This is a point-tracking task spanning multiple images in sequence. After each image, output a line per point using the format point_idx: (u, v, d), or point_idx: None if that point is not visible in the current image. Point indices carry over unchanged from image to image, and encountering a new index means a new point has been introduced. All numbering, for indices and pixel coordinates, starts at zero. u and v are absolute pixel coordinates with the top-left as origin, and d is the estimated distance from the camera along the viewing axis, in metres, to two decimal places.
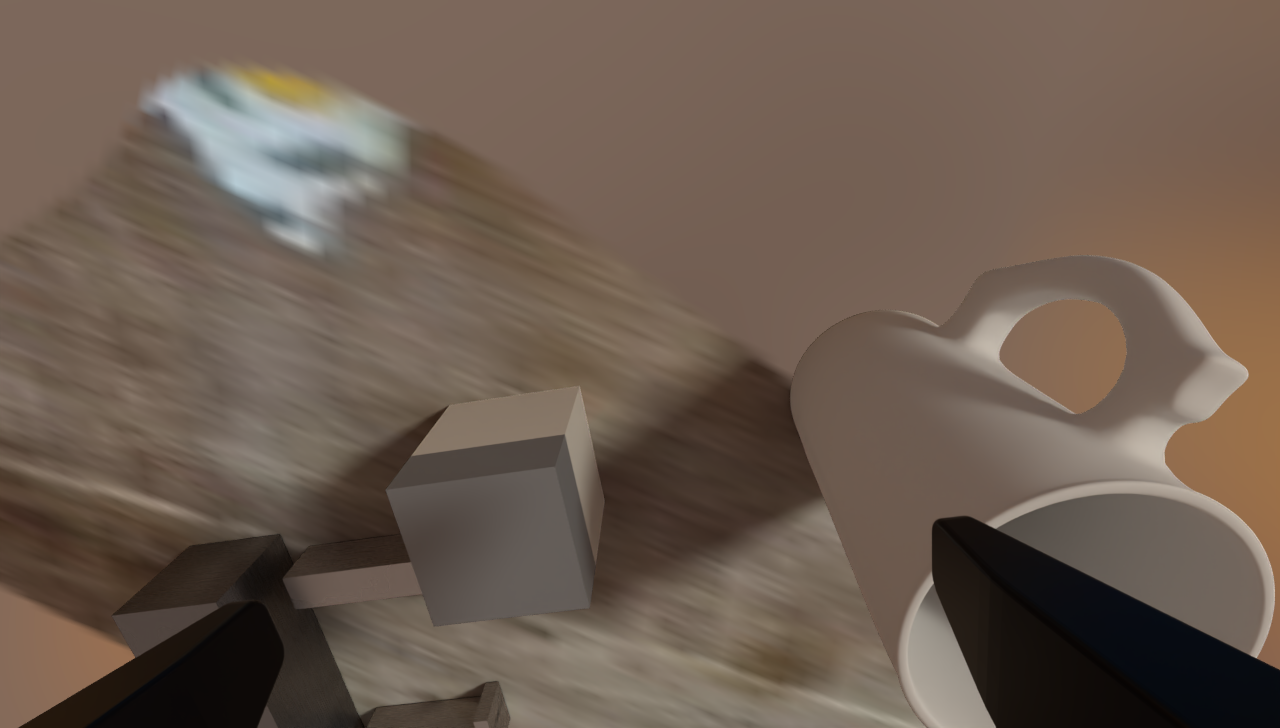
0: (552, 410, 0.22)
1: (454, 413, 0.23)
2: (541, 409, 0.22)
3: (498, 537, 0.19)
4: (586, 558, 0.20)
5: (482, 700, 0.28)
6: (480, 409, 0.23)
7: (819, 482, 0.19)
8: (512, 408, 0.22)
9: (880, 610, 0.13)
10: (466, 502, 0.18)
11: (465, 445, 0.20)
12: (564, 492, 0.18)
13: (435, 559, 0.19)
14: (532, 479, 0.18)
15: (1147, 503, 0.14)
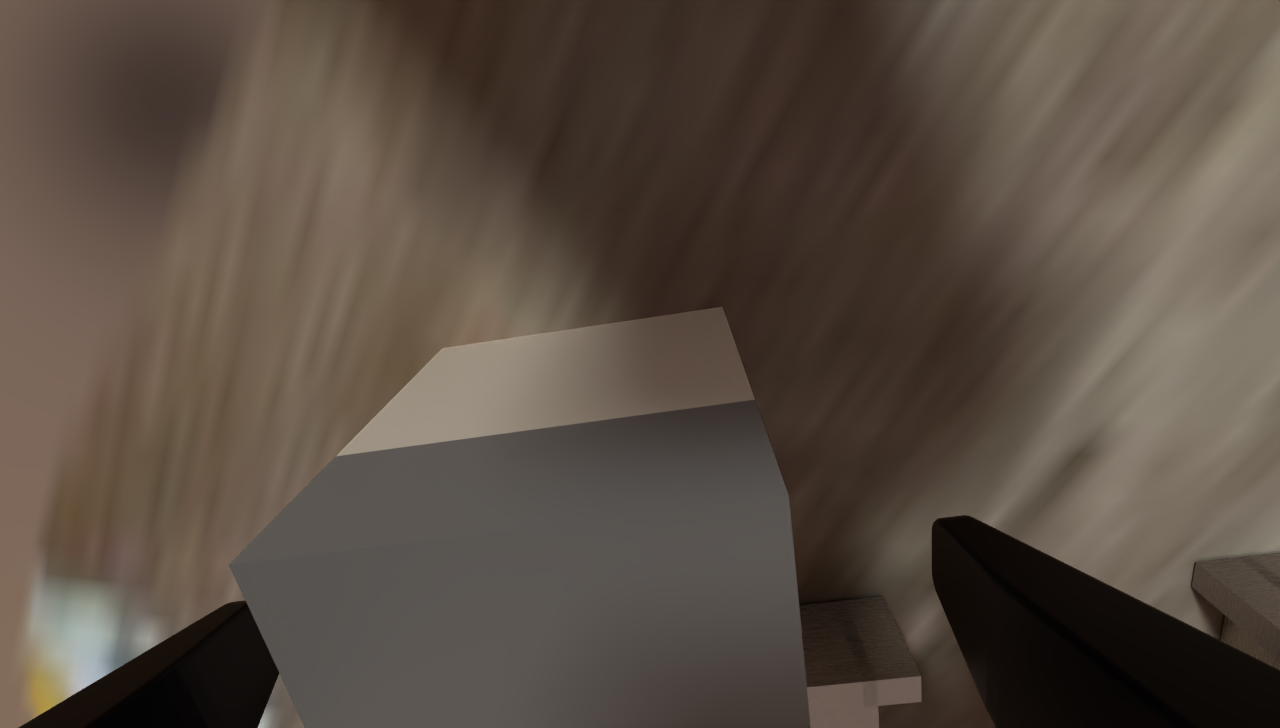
0: None
1: None
2: None
3: (508, 719, 0.06)
4: (660, 454, 0.06)
5: (1232, 616, 0.12)
6: None
7: None
8: None
9: None
10: None
11: None
12: (357, 528, 0.06)
13: None
14: (288, 623, 0.06)
15: None
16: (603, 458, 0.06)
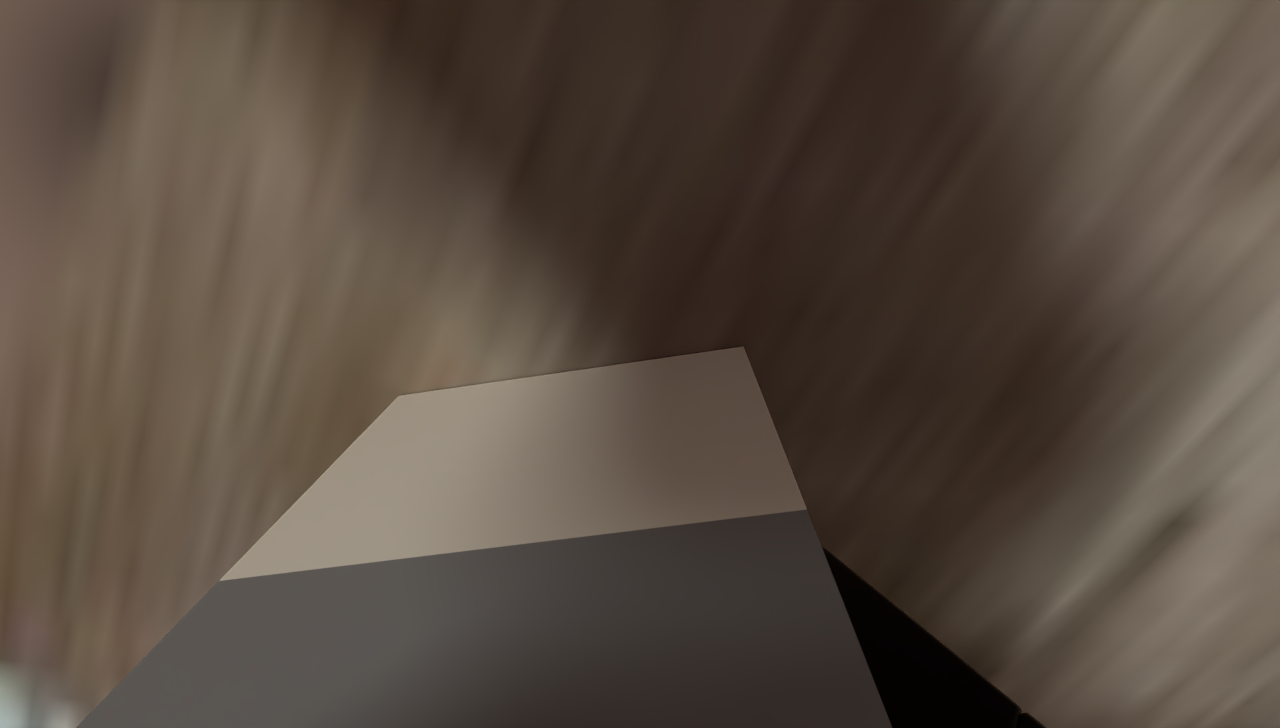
0: None
1: None
2: None
3: None
4: (675, 614, 0.04)
5: None
6: None
7: None
8: None
9: None
10: None
11: None
12: None
13: None
14: None
15: None
16: (589, 616, 0.04)
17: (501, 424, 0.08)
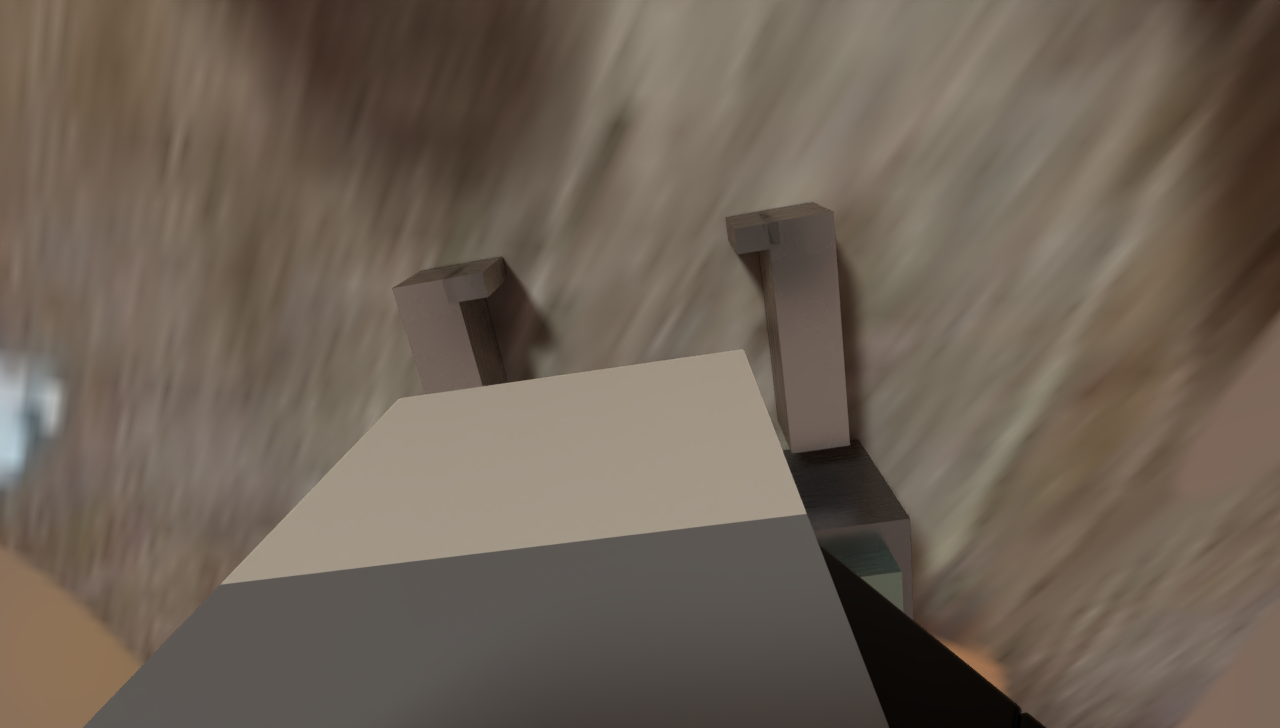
0: None
1: None
2: None
3: None
4: (675, 619, 0.04)
5: (732, 242, 0.16)
6: None
7: None
8: None
9: None
10: None
11: None
12: None
13: None
14: None
15: None
16: (589, 621, 0.04)
17: (501, 427, 0.08)
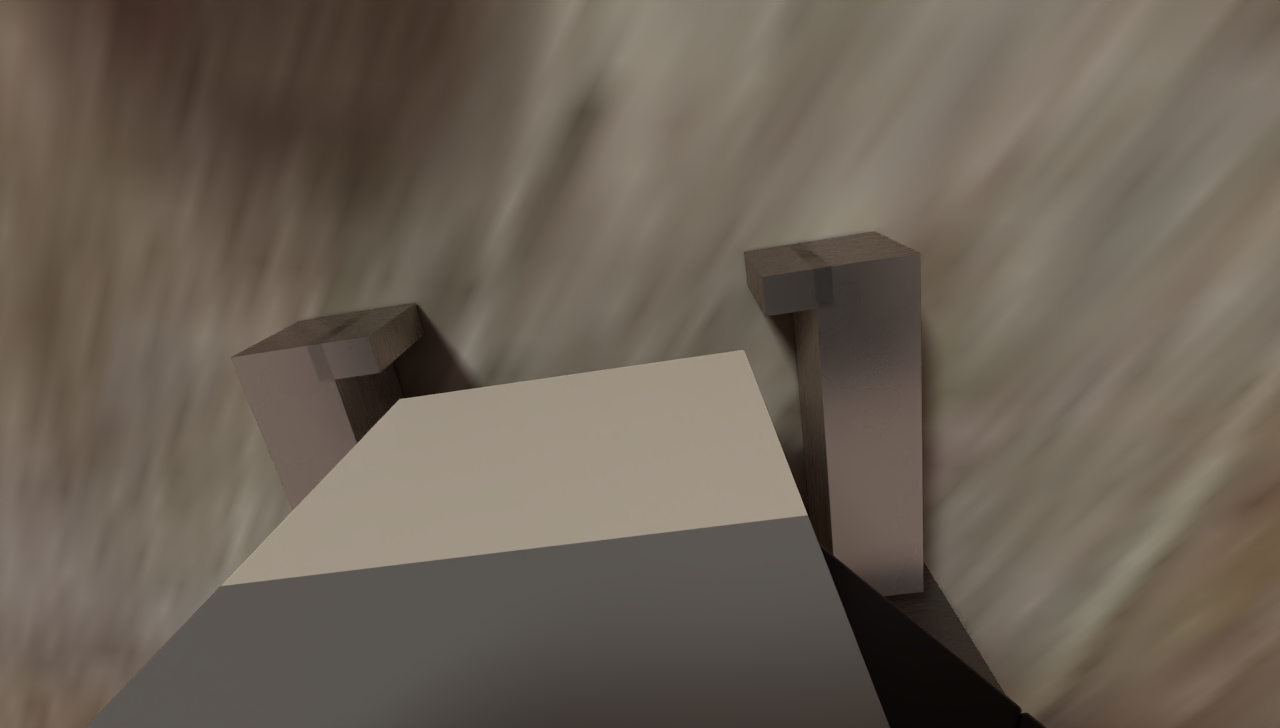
0: None
1: None
2: None
3: None
4: (676, 621, 0.04)
5: (754, 291, 0.10)
6: None
7: None
8: None
9: None
10: None
11: None
12: None
13: None
14: None
15: None
16: (590, 623, 0.04)
17: (502, 428, 0.08)
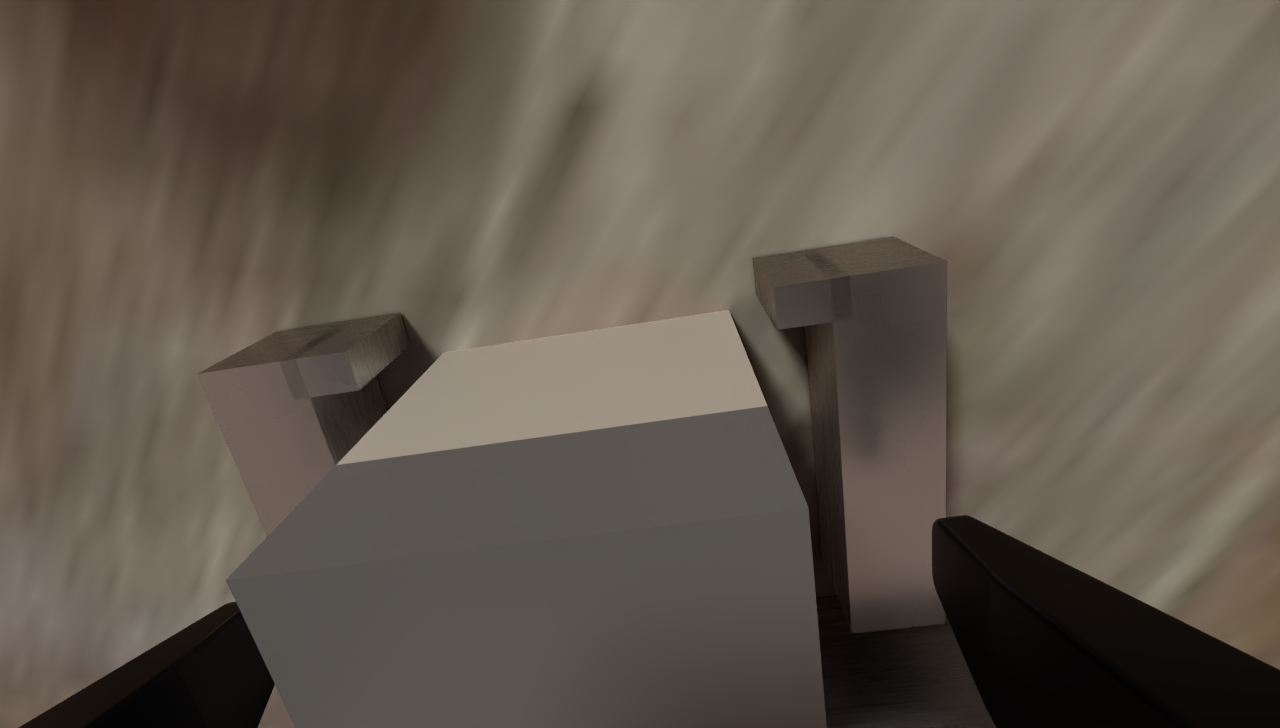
0: None
1: None
2: None
3: None
4: (672, 463, 0.06)
5: (764, 301, 0.10)
6: None
7: None
8: None
9: None
10: None
11: None
12: (359, 541, 0.06)
13: None
14: (287, 640, 0.06)
15: None
16: (613, 467, 0.06)
17: (534, 366, 0.10)
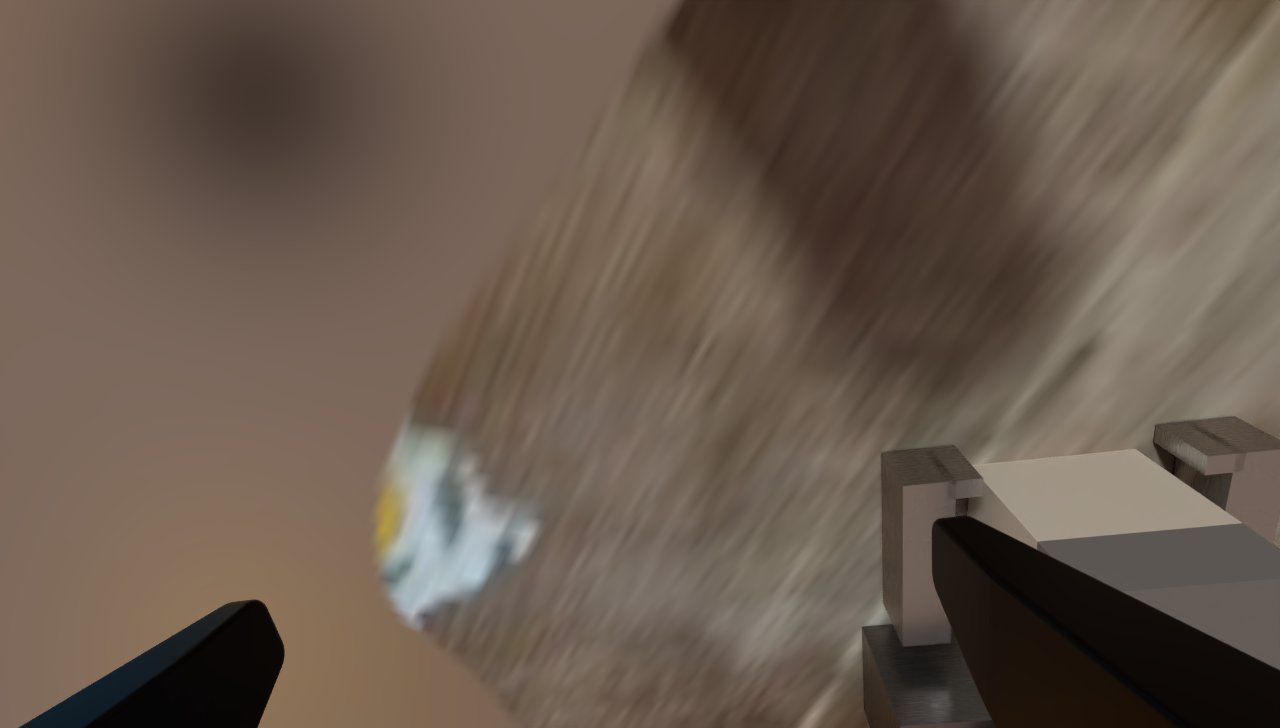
0: (998, 520, 0.19)
1: None
2: (993, 526, 0.19)
3: None
4: (1229, 551, 0.15)
5: (1176, 453, 0.19)
6: None
7: None
8: None
9: None
10: None
11: None
12: (1123, 581, 0.15)
13: None
14: None
15: None
16: (1201, 552, 0.15)
17: (1058, 483, 0.19)
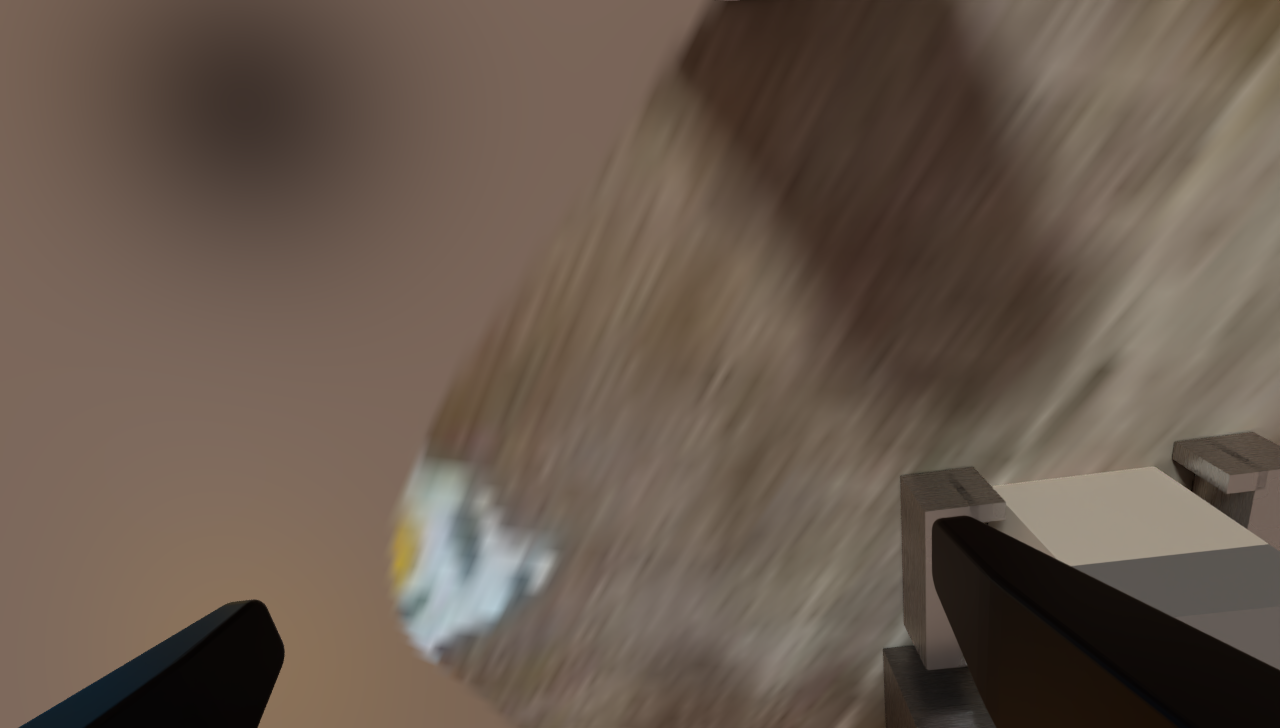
0: None
1: None
2: None
3: None
4: (1258, 574, 0.15)
5: (1197, 471, 0.19)
6: None
7: None
8: None
9: None
10: None
11: None
12: None
13: None
14: None
15: None
16: (1229, 575, 0.15)
17: (1080, 504, 0.19)
